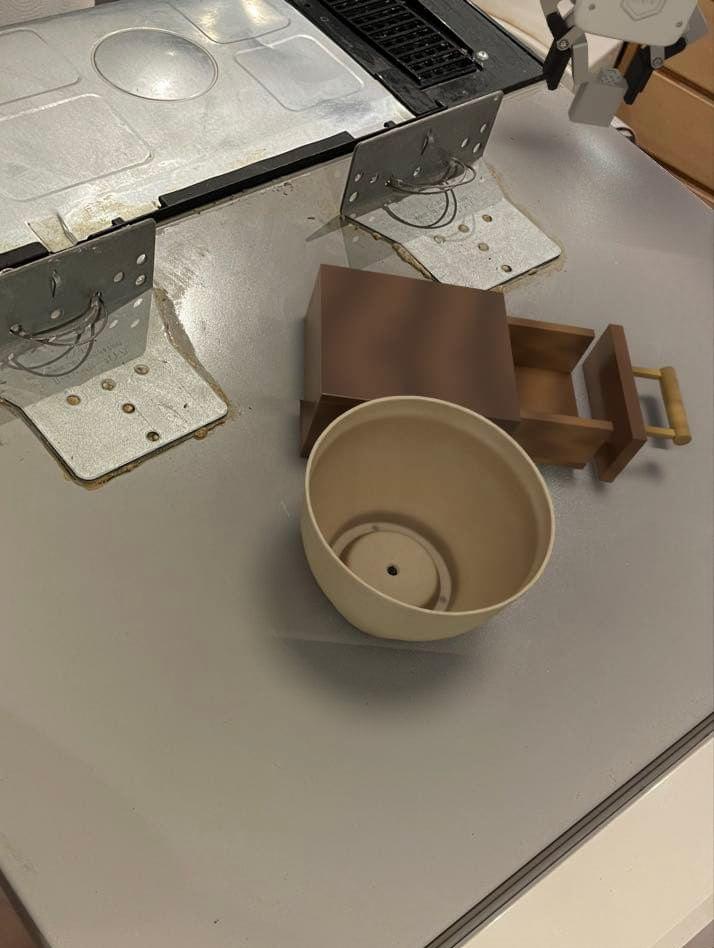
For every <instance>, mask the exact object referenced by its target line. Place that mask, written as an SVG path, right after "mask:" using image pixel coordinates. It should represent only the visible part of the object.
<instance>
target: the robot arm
mask: <svg viewBox="0 0 714 948" xmlns="http://www.w3.org/2000/svg"><path fill="white" fill-rule="evenodd" d="M561 1H562V0H539V3H540V6H541V10H542V13H543V16H544V18H545V22H546V24H547V25H546V26H547V28H548V30H549V32H550V34H551V36H552V37H553V39H552V42H551V44H550V47H549V49H548V52H547V54H546V55H545V59H544V61H543V63H542V67H541V68H542V69H541V70H542V75H543V76H544V77H545V82H546V87H547V90H548V91H551V92H554V91H556V90H558V87H559V85H560V82H561V81H562V78H563V76H564V74H565V71H566V69H567V67H568V64H569V62H570V61H571V55H572V53H571V47H570V46H571V45H572V44H573V43H574V42H575V41H577V40H578V39H579V38H580V37H581V36H582V35H583V34H584V33H585V34H589V35H592V36H597V37H602V38H607V39H612V40H618V41H622V42H628V43H631V44H632V43H633V44H638V45H643V46H644V45H645V46H644V47H639V49H638V50H636V52H635V54H634V55H633V58H632V60H631V62H630V63H629V67H628V68H627V69H626V72H625V74H624V75H623V78H625V79H626V82H627V85H628V90H627V92H626V94H625V96H624V98H623V102H624V103H625V104H626V105H629V106H633V104H634V102H635V101H636V99H637V97H638V95H639V94H642V93H643V92H644V90H645V88H646V86H647V84H648V82H649V81H650V79H651V77H652V76H653V75H652V74H653V73H654V71H655V69H659V68H661V67H663V65H664V64H665V61H667V60H669V59H670V58H673V57H674V56H676V55H678V54H680V53H682V52H683V51H685V50H686V48H687V46H690V45H692V44H693V43H695V42H697V41H698V40H700V39H702V38H703V37H705V36H706V35H708V33H709V31H710V27H709V25H708V23H707V20H706V17H705V16H704V14H703V11H702V10H701V8H700V6H699V4H698V2H699V0H569V2H570V3H571V4H572V5H573V7H571V8H570V9H569V10H568V11H567V12H566V13H565V14H564V15H563V16H562V14H561V12H560V10H559V7H558V5H559V3H560V2H561Z"/></svg>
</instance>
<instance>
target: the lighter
mask: <svg viewBox="0 0 714 948" xmlns="http://www.w3.org/2000/svg"><path fill="white" fill-rule="evenodd" d="M570 48H571V53H572V55H571V58H570V67H571V68H570V69H571V70H570V71H571V79H572V81H573V85H574V86H577V85H579V87H578V89H577V90H576V93H575V94H574V97H573V99H572V102H571V104H570V106H569V108H568V110H567V114H568V118H569V119H568V120H569V121H570V122H571V123H576V124H582V125H588V126H594V127H602V128H607V129H608V128H609V127H610V125H611V124H612V122H613V120H614V117H615V115H616V114H617V112H618V111H619V108H620V106H621V104H622V102H623V101H624V96H625V94H626V92H627V90H628V85H627V82H626V79H625V78H624V74H623V73H622V72H620V70H619V69H618V68H613V67H606V66H601V67H600V69H599V71H598V73H596V72H590V68H589V67H590V66H589V43H588V39H587V35H586V32H585V33H584V34H583V35H582V36H581V37H580V38H579V39H578V40H577V41H575V42H574V43H573V44H572V45H571V46H570Z"/></svg>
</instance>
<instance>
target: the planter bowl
mask: <svg viewBox="0 0 714 948" xmlns="http://www.w3.org/2000/svg"><path fill="white" fill-rule="evenodd" d="M536 465H537V464H534V463H533V461H532V460H531V459H530V457H529V456H528V455H527V453H526V452H525V451H524V450H523V449H522V448H521V447H520V445H519V444H518V443H517V442H516V441H515V440H514V439H513V438H512V437H511V436H509V435H508V434H507V433H506V432H505V431H503V430H502V429H501V428H499V427H498V426H497V425H495V424H494V423H492V422H491V421H489V420H488V419H486V418H484V417H483V416H481V415H479V414H477V413H475V412H473V411H471V410H469V409H467V408H464V407H462V406H459V405H456V404H454V403H450V402H447V401H443V400H439V399H434V398H428V397H422V396H391V397H385V398H379V399H375V400H372V401H368V402H365V403H363V404H360V405H358V406H356V407H354V408H352V409H350V410H349V411H347V412H345V413H344V414H342V415H341V416H339V417H338V418H337V419H335V420H334V421H333V422H332V423H331V424H330V425H329V426H328V427H327V428H326V429H325V430H324V431H323V433H322V434H321V435H320V437H319V438H318V440H317V441H316V443H315V445H314V447H313V449H312V451H311V453H310V456H309V458H307V463H306V466H305V471H304V478H303V491H302V498H301V506H300V507H301V508H300V529H301V538H302V542H303V548H304V552H305V556H306V559H307V562H308V564H309V568H310V570H311V572H312V574H313V576H314V578H315V580H316V582H317V585H319V587H320V589H321V591H322V592H323V593H324V595H325V596H326V598H327V599H328V600H329V601H330V602H331V604H332V605H333V607H334V608H335V609H336V611H337V612H338V613H339V614H340V615H341V616H342V617H343V619H345V620H346V621H347V622H349V624H351V625H352V626H354V627H356V628H357V629H358V630H360V631H362V632H363V633H367V634H369V635H371V636H374V637H377V638H382V639H387V640H400V641H408V642H428V641H437V640H443V639H447V638H452V637H455V636H459V635H462V634H465V633H467V632H470V631H471V630H474V629H476V628H478V627H480V626H481V625H483V624H485V623H487V622H489V621H490V620H492V619H493V618H495V617H496V616H497V615H499V614H500V613H502V611H504V610H505V609H506V608H508V606H510V605H512V604H513V603H514V602H516V601H517V600H519V599H520V598H521V597H522V596H524V595H525V594H526V593H527V591H529V590H530V589H531V588H532V587H533V586H534V584H535V583H537V582H538V580H539V578H540V577H541V576H542V574H543V572H544V571H545V569H546V567H547V565H548V563H549V561H550V559H551V556H552V553H553V549H554V545H555V538H556V515H555V508H554V504H553V500H552V497H551V494H550V491H549V489H548V486H547V484H546V481H545V479H544V477H543V476H542V473H541V472H540V470H539V468H538V466H536ZM391 567H393V568H394V569H395V570H396V574H395V575H392V574H390V573H389V572H388V570H389V568H391Z"/></svg>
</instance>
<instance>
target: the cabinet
mask: <svg viewBox="0 0 714 948" xmlns="http://www.w3.org/2000/svg"><path fill="white" fill-rule="evenodd" d="M314 281H315V282H314V285H313V288H312V291H311V294H310V298H309V302H308V305H307V309H306V312H305V315H304V357H303V358H304V369H303V370H304V376H303V377H304V378H303V379H304V381H303V382H304V384H303V385H304V390H303V392H304V395H303V399H299V458H303V459H309V456H310V453H311V451H312V449H313V447H314V445H315V443H316V441H317V440H318V438H319V437H320V435H321V434H322V433H323V431H324V430H325V429H326V428H327V427H328V426H329V425H330V424H331V423H332V422H333V421H334V420H335V419H337V418H338V417H339V416H341V415H342V414H344V413H345V412H347V411H349V410H350V409H352V408H354V407H356V406H358V405H360V404H363V403H365V402H368V401H372V400H375V399H379V398H385V397H391V396H422V397H428V398H434V399H439V400H443V401H447V402H450V403H454V404H456V405H459V406H462V407H464V408H467V409H469V410H471V411H473V412H475V413H477V414H479V415H481V416H483V417H484V418H486V419H488V420H489V421H491V422H492V423H494V424H495V425H497V426H498V427H499V428H501V429H502V430H503V431H505V432H506V433H507V434H508V435H509V436H511V437H512V435H513V433H514V432H515V430H516V429H517V427H518V426H519V424H520V422H521V416H520V409H519V401H518V394H517V387H516V380H515V372H514V365H513V358H512V350H511V343H510V336H509V329H508V321H507V316H508V315H507V306H506V299H505V293H504V292H503V291H502V292H501V291H494V290H489V289H483V288H477V287H471V286H466V285H465V286H464V285H458V284H451V283H445V282H440V281H434V280H428V279H421V278H414V277H408V276H403V275H397V274H390V273H383V272H377V271H372V270H366V269H365V270H364V269H358V268H352V267H348V266H347V267H345V266H340V265H335V264H328V263H320V264H319V267H318V271H317V275H316V278H315V280H314Z"/></svg>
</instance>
